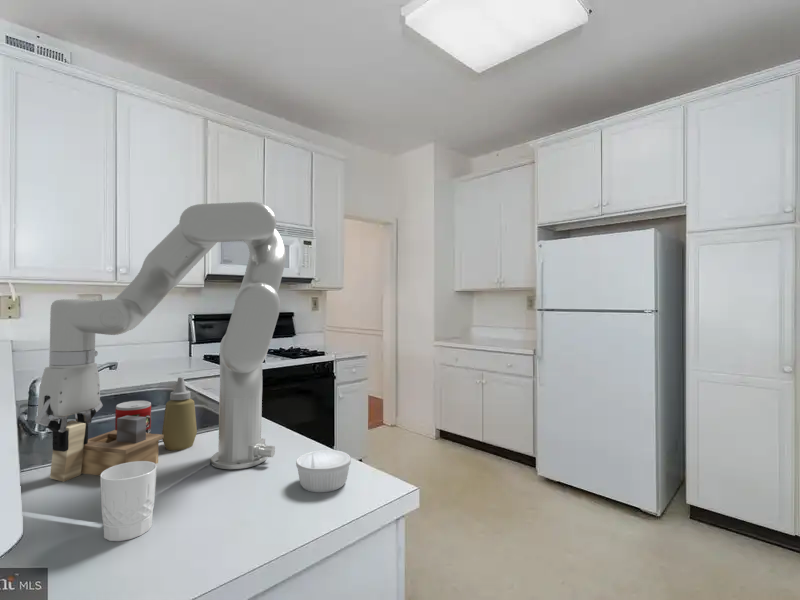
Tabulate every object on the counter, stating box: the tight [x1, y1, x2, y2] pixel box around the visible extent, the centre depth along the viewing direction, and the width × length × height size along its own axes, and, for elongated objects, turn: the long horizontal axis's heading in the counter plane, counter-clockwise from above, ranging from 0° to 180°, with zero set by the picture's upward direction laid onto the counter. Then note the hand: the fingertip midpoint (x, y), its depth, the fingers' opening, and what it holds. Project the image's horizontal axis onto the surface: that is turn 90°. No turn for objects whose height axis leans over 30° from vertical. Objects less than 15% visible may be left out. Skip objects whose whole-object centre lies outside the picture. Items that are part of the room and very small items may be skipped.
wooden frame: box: [83, 415, 164, 454], centre depth 94 cm, size 13×10×6 cm
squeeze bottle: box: [161, 376, 198, 452], centre depth 109 cm, size 8×8×18 cm
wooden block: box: [49, 420, 86, 483], centre depth 89 cm, size 4×4×11 cm
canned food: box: [114, 400, 152, 434], centre depth 109 cm, size 8×8×11 cm
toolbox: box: [81, 437, 160, 476], centre depth 94 cm, size 12×9×6 cm
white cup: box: [99, 461, 158, 542], centre depth 70 cm, size 8×8×10 cm
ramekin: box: [295, 449, 352, 493], centre depth 90 cm, size 11×11×5 cm
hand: (70, 446), depth 89 cm, fingers closed on wooden block, 3 cm apart
